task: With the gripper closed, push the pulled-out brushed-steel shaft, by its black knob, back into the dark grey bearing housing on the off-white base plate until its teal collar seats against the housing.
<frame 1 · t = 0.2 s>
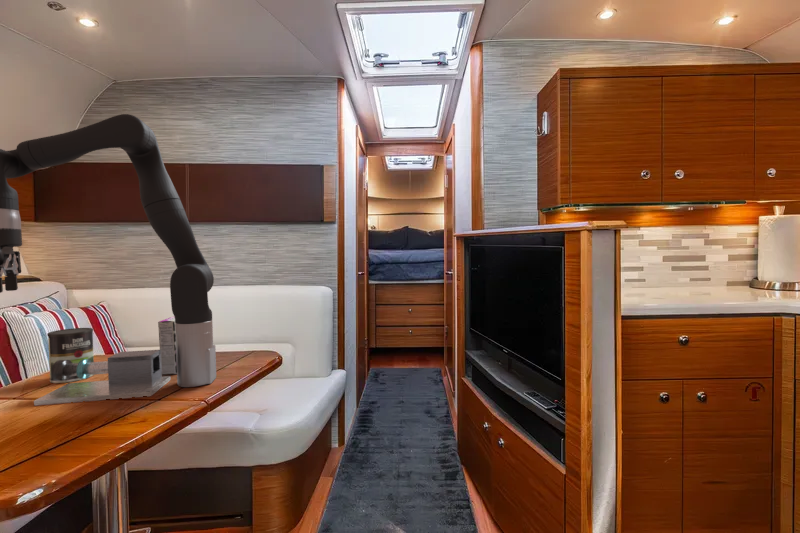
hand: (4, 291, 98), 27 cm above the table, fingers open, 8 cm apart
housing: (136, 389, 103), on the table
candy bar box: (177, 370, 121), on the table
coffee can: (72, 378, 115), on the table
shaft: (98, 367, 102), point 6 cm above the table, slide at 6.0 cm
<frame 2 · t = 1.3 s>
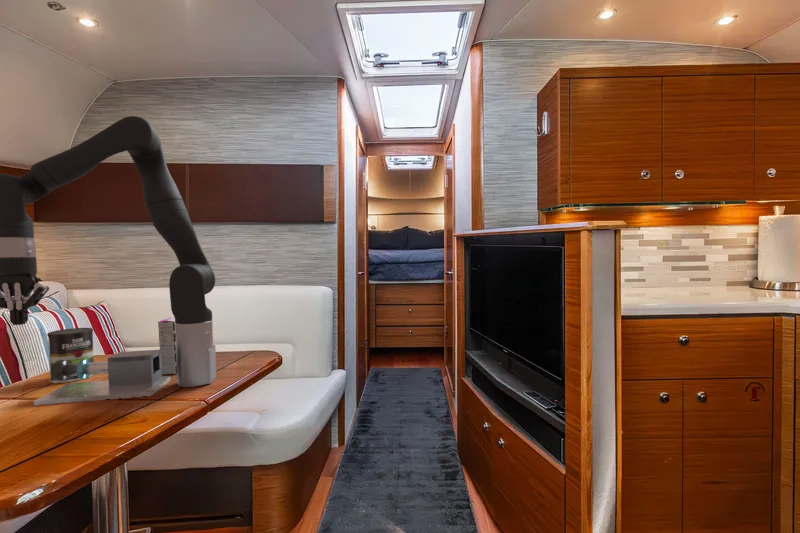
hand: (19, 324, 98), 19 cm above the table, fingers closed
nothing on the table moved.
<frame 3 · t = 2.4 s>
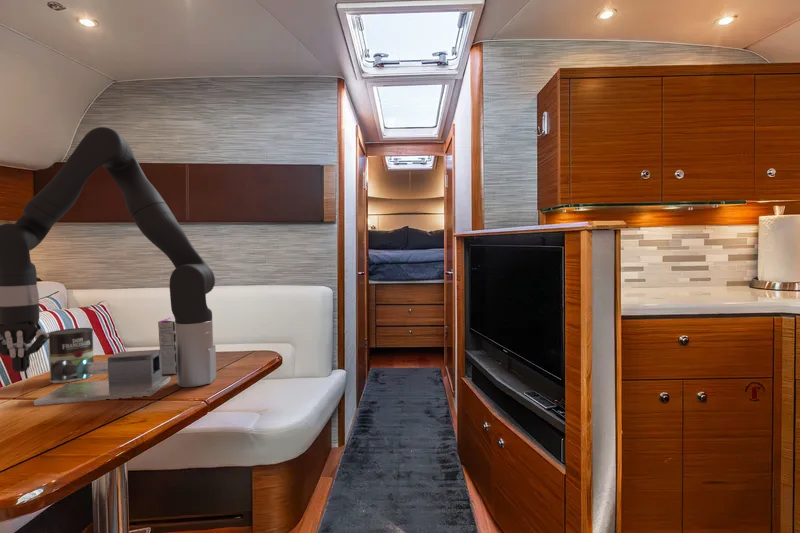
hand: (21, 370, 98), 7 cm above the table, fingers closed
nothing on the table moved.
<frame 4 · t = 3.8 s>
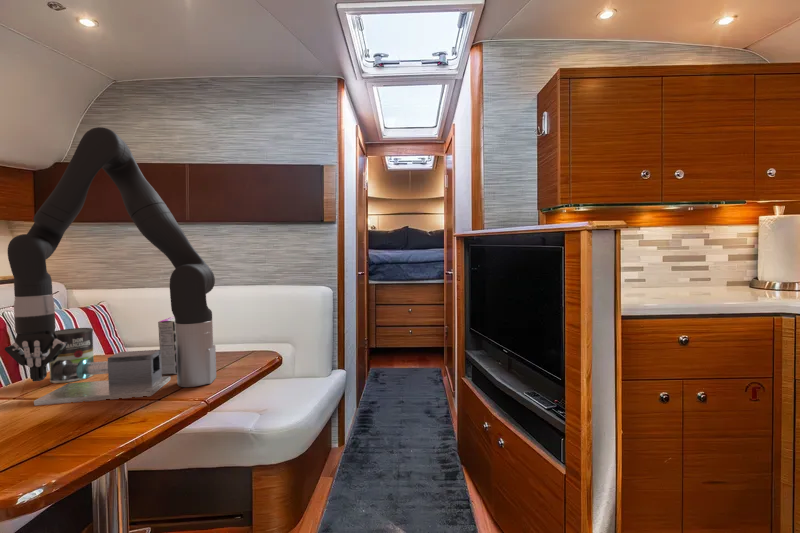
hand: (38, 380, 99), 4 cm above the table, fingers closed
nothing on the table moved.
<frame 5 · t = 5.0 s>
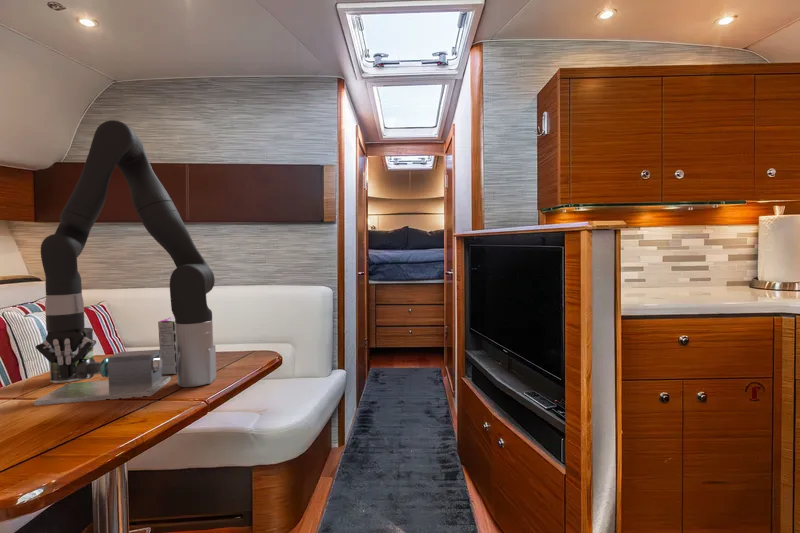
hand: (68, 378, 100), 4 cm above the table, fingers closed
shaft: (121, 366, 103), point 6 cm above the table, slide at 0.7 cm, touching gripper
everything else where it was.
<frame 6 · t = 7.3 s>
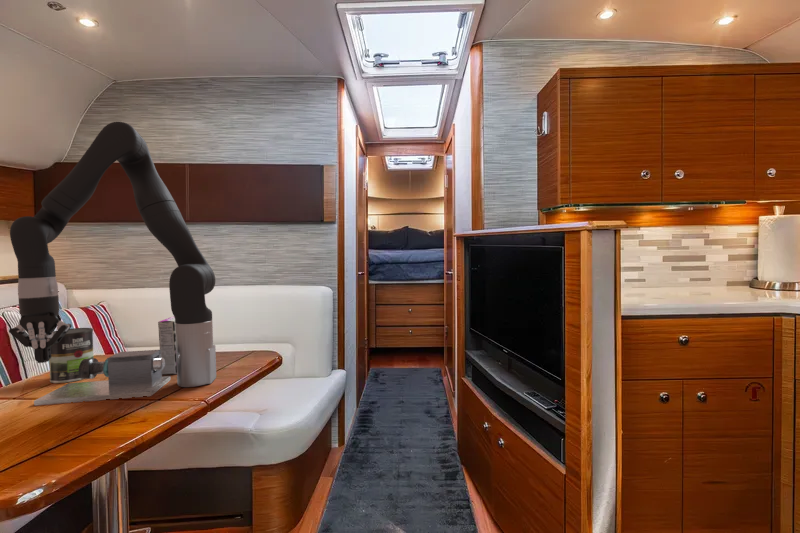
hand: (43, 361, 100), 9 cm above the table, fingers closed
shaft: (124, 366, 103), point 6 cm above the table, slide at 0.0 cm
everything else where it was.
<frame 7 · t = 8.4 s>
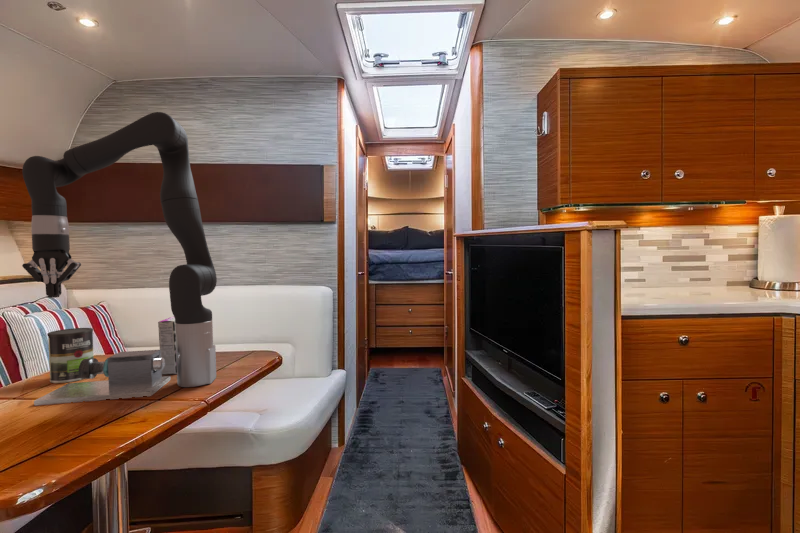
hand: (53, 297, 105), 25 cm above the table, fingers closed
nothing on the table moved.
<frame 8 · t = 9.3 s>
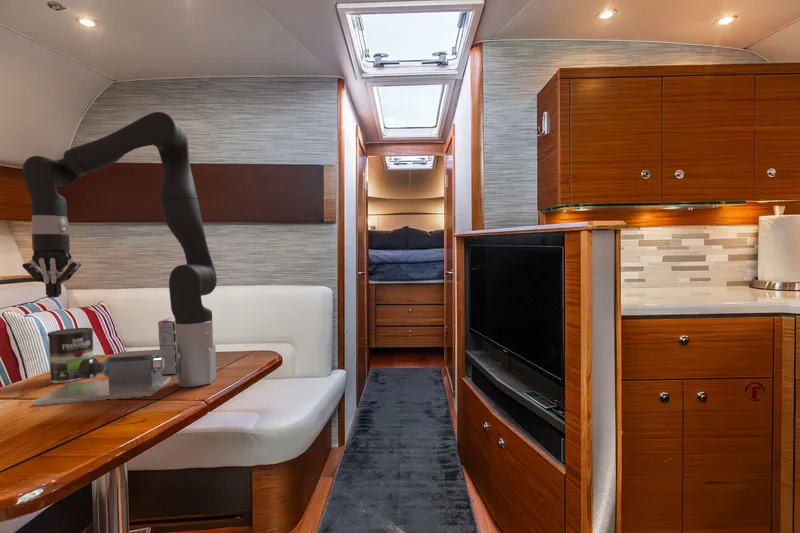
hand: (53, 297, 105), 25 cm above the table, fingers closed
nothing on the table moved.
at the end: shaft slide at 0.0 cm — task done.
